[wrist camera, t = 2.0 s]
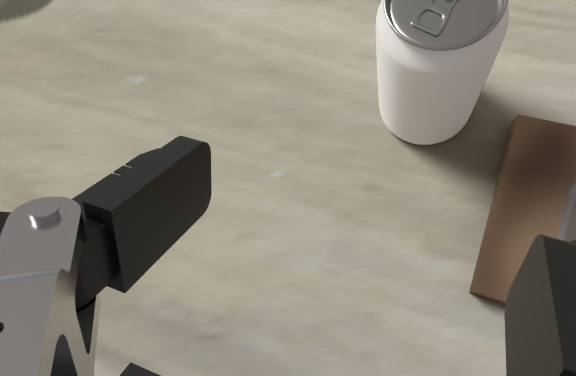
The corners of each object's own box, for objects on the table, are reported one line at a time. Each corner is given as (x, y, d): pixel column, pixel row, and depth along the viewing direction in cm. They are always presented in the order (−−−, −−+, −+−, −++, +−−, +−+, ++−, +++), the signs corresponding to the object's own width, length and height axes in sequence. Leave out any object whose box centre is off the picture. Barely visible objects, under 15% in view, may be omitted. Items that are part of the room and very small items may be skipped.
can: (489, 89, 31) (546, -32, 20) (440, 163, 31) (471, 81, 20) (409, 51, 33) (420, -78, 22) (362, 120, 33) (348, 23, 22)
